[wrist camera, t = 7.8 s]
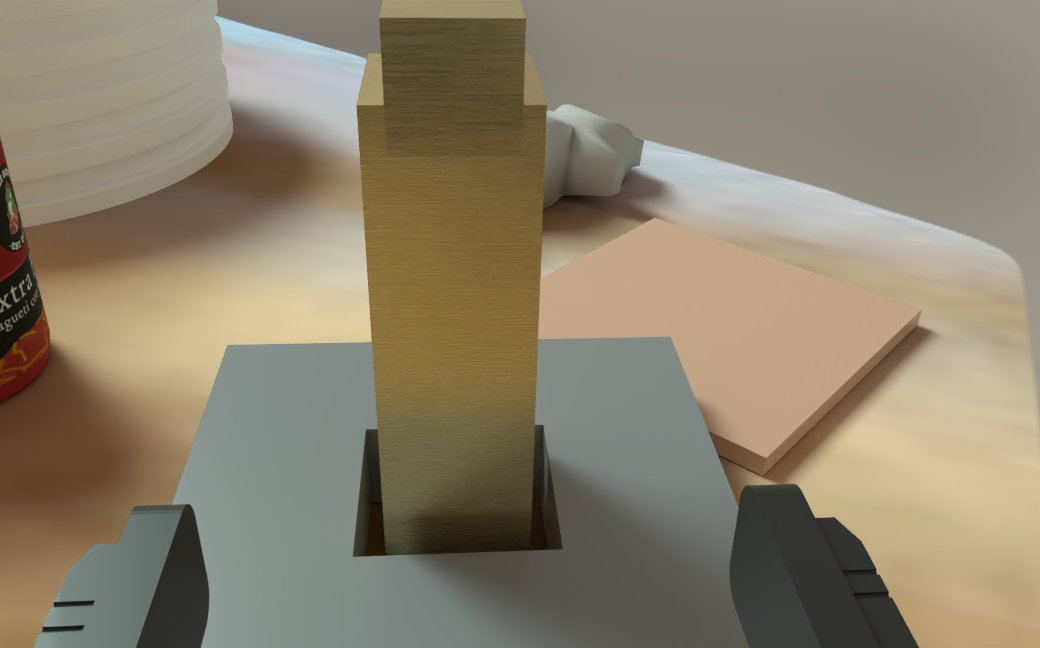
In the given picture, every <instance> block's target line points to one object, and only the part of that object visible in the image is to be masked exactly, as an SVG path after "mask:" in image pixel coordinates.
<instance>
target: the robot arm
mask: <svg viewBox="0 0 1040 648" xmlns="http://www.w3.org/2000/svg"><path fill="white" fill-rule="evenodd" d="M729 575H730V587H731V594H732V599H733V603H734V606H735V609H736V612H737V615H738V617H739V620H740V623H741V626H742V629H743V632H744V635H745V637H746V640H747V643H748V646H749V648H919V647H918V645H917V643H916V641H915V639H914V638H913V636H912V634H911V632H910V630H909V628H908V627H907V625H906V623H905V621H904V619H903V617H902V615H901V614H900V612H899V610H898V608H897V606H896V604H895V603H894V601H893V599H892V598H889V594H888V593H889V591H888V590H887V588H886V586H885V584H884V582H883V580H882V579H881V577H880V575H877V573H876V567H875V566H874V564H873V562H872V560H871V558H870V556H869V555H868V553H867V551H866V549H865V547H864V545H863V544H862V542H861V541H860V540H859V539H858V538H857V537H856V536H855V535H854V534H852V533H851V532H850V531H849V530H848V529H847V528H846V527H845V526H843V525H842V524H841V523H840V522H839V521H838V520H837V519H836V518H834V517H832V518H815V517H814V515H813V513H812V511H811V509H810V507H809V505H808V503H807V501H806V499H805V497H804V495H803V493H802V491H801V489H800V488H799V487H798V486H797V485H796V484H778V485H751V486H745V487H744V489H743V491H742V494H741V498H740V504H739V510H738V516H737V522H736V528H735V534H734V540H733V546H732V552H731V558H730V568H729ZM208 613H209V583H208V577H207V572H206V567H205V562H204V557H203V552H202V547H201V542H200V537H199V532H198V527H197V522H196V517H195V513H194V510H193V508H192V506H191V505H190V504H175V505H147V506H136V507H135V508H134V509H133V510H132V512H131V514H130V516H129V518H128V521H127V523H126V526H125V528H124V531H123V533H122V535H121V538H120V540H119V543H111V544H95V545H94V546H93V547H92V548H91V549H90V550H89V551H88V552H87V553H86V554H85V555H84V556H83V557H82V558H81V559H80V560H79V561H78V562H77V563H76V564H75V565H74V566H73V567H72V568H71V569H70V570H69V571H68V572H67V574H66V576H65V579H64V581H63V583H62V585H61V587H60V590H59V592H58V594H57V596H56V598H55V601H54V608H51V609H50V612H49V614H48V616H47V618H46V620H45V623H44V625H43V631H42V633H39V636H38V638H37V640H36V642H35V644H34V647H33V648H201V645H202V641H203V637H204V634H205V630H206V626H207V621H208Z"/></svg>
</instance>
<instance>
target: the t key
mask: <svg viewBox="0 0 1040 648" xmlns="http://www.w3.org/2000/svg"><path fill="white" fill-rule="evenodd" d="M379 20H380V40H381V54H368V57H367V61H366V66H365V70H364V75H363V79H362V83H361V88H360V92H359V97H358V101H357V119H358V134H359V150H360V165H361V181H362V196H363V212H364V227H365V242H366V258H367V273H368V289H369V304H370V320H371V335H372V351H373V366H374V381H375V397H376V412H377V428H378V443H379V459H380V474H381V490H382V505H383V520H384V536H385V551H386V556H391V555H419V554H448V553H476V552H504V551H530V541H531V515H532V488H533V461H534V435H535V408H536V382H537V355H538V328H539V302H540V275H541V249H542V222H543V196H544V169H545V142H546V116H547V104H546V100H545V97H544V94H543V91H542V87H541V84H540V81H539V78H538V75H537V72H536V68H535V65H534V62H533V58H532V55H531V54H525V31H526V17H525V14H524V11H523V9H522V5H521V2H520V0H383V3H382V8H381V12H380V17H379Z"/></svg>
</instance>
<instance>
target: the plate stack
mask: <svg viewBox="0 0 1040 648" xmlns="http://www.w3.org/2000/svg"><path fill="white" fill-rule="evenodd" d="M217 9H218V8H217V0H0V139H1V142H2V146H3V150H4V154H5V158H6V162H7V166H8V170H9V174H10V178H11V182H12V185H13V189H14V193H15V197H16V201H17V205H18V209H19V213H20V217H21V221H22V225H23V228H25V227H31V226H36V225H41V224H47V223H51V222H56V221H61V220H65V219H69V218H74V217H78V216H82V215H86V214H90V213H93V212H97V211H101V210H104V209H107V208H111V207H114V206H117V205H120V204H124V203H127V202H130V201H132V200H135V199H138V198H141V197H144V196H146V195H149V194H151V193H154V192H156V191H159V190H161V189H163V188H166V187H168V186H170V185H172V184H174V183H177V182H179V181H181V180H183V179H185V178H186V177H188V176H190V175H192V174H193V173H195V172H197V171H198V170H200V169H201V168H203V167H204V166H206V165H207V164H209V163H210V162H211V161H212V160H214V159H215V158H216V157H217V156H218V155H219V154H220V153H221V152H222V151H223V150H224V149H225V148H226V146H227V145H228V143H229V142H230V140H231V137H232V134H233V120H232V112H231V107H230V104H229V102H228V101H227V96H228V82H227V74H226V69H225V66H224V64H223V63H222V61H221V60H220V59H221V57H222V54H223V44H222V36H221V30H220V26H219V25H218V23H217V22H216V21H215V20H214V19H213V18H214V17H215V15H216V13H217Z"/></svg>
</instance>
